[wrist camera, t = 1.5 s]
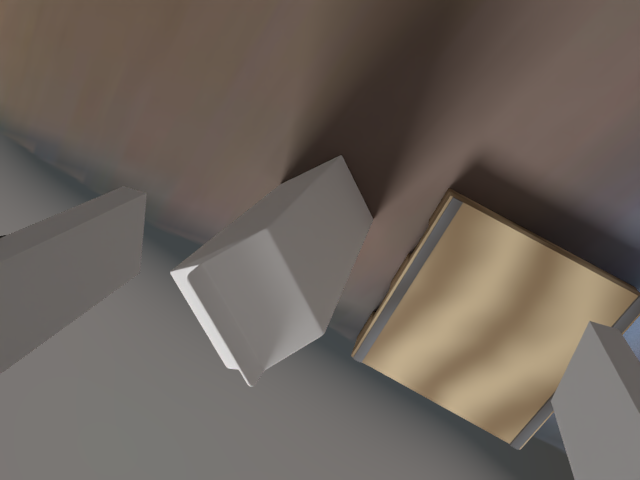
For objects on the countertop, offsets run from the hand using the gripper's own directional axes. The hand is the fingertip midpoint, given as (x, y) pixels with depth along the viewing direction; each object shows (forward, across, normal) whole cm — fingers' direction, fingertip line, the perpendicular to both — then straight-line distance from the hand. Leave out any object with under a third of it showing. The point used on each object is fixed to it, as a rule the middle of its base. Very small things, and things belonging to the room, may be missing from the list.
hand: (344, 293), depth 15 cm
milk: (+27, -5, -6) cm, 28 cm away
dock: (+27, +10, -12) cm, 31 cm away
